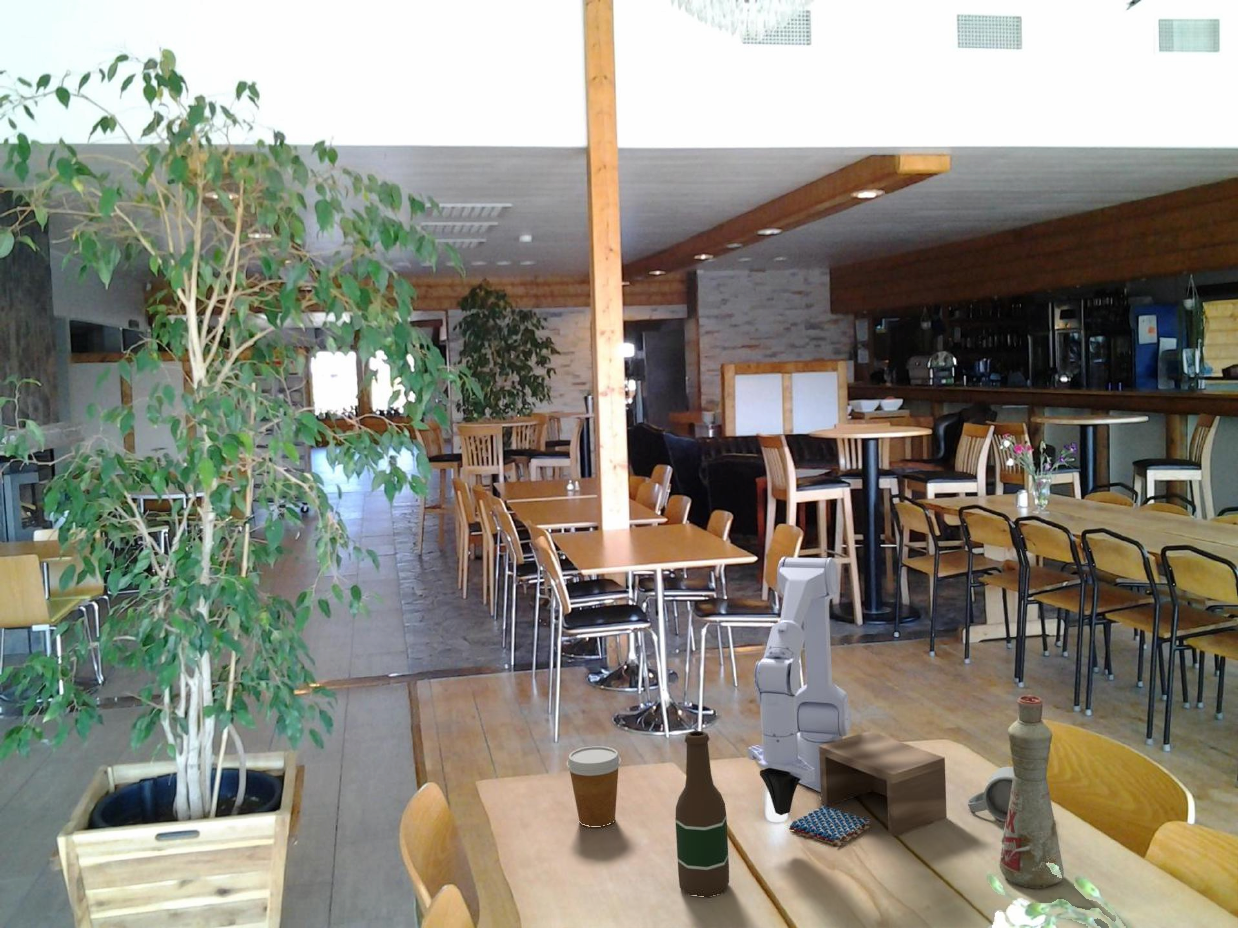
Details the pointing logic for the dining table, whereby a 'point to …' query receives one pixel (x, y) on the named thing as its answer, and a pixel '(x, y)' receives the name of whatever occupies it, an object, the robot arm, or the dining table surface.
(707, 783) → the beer bottle
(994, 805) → the ceramic mug
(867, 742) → the walnut open box
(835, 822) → the woven mat
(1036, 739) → the bottle
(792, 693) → the robot arm
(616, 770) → the disposable coffee cup
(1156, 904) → the dining table surface
